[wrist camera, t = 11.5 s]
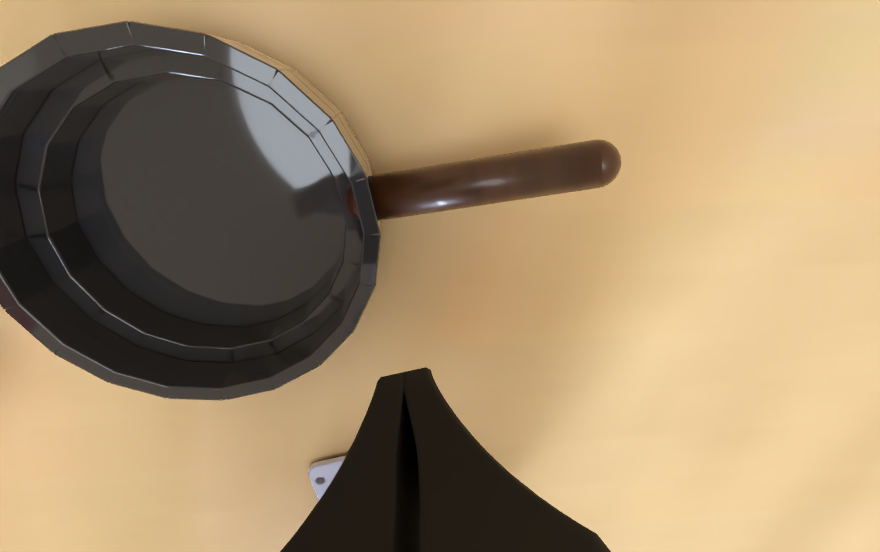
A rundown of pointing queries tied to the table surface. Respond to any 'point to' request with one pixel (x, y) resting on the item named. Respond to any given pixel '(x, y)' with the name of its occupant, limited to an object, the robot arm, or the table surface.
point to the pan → (179, 211)
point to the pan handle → (492, 179)
